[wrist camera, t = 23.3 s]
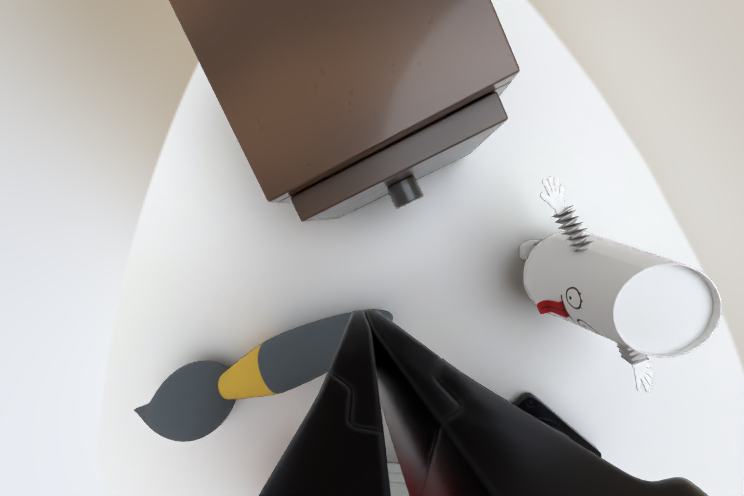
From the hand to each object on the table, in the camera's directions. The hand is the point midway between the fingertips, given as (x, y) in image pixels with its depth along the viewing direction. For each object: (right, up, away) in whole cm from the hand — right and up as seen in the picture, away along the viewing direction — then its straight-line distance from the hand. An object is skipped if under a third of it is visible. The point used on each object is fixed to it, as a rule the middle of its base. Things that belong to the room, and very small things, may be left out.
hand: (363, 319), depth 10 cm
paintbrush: (-7, -5, +12) cm, 15 cm away
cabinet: (0, +12, +9) cm, 15 cm away
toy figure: (+12, +1, +9) cm, 15 cm away
